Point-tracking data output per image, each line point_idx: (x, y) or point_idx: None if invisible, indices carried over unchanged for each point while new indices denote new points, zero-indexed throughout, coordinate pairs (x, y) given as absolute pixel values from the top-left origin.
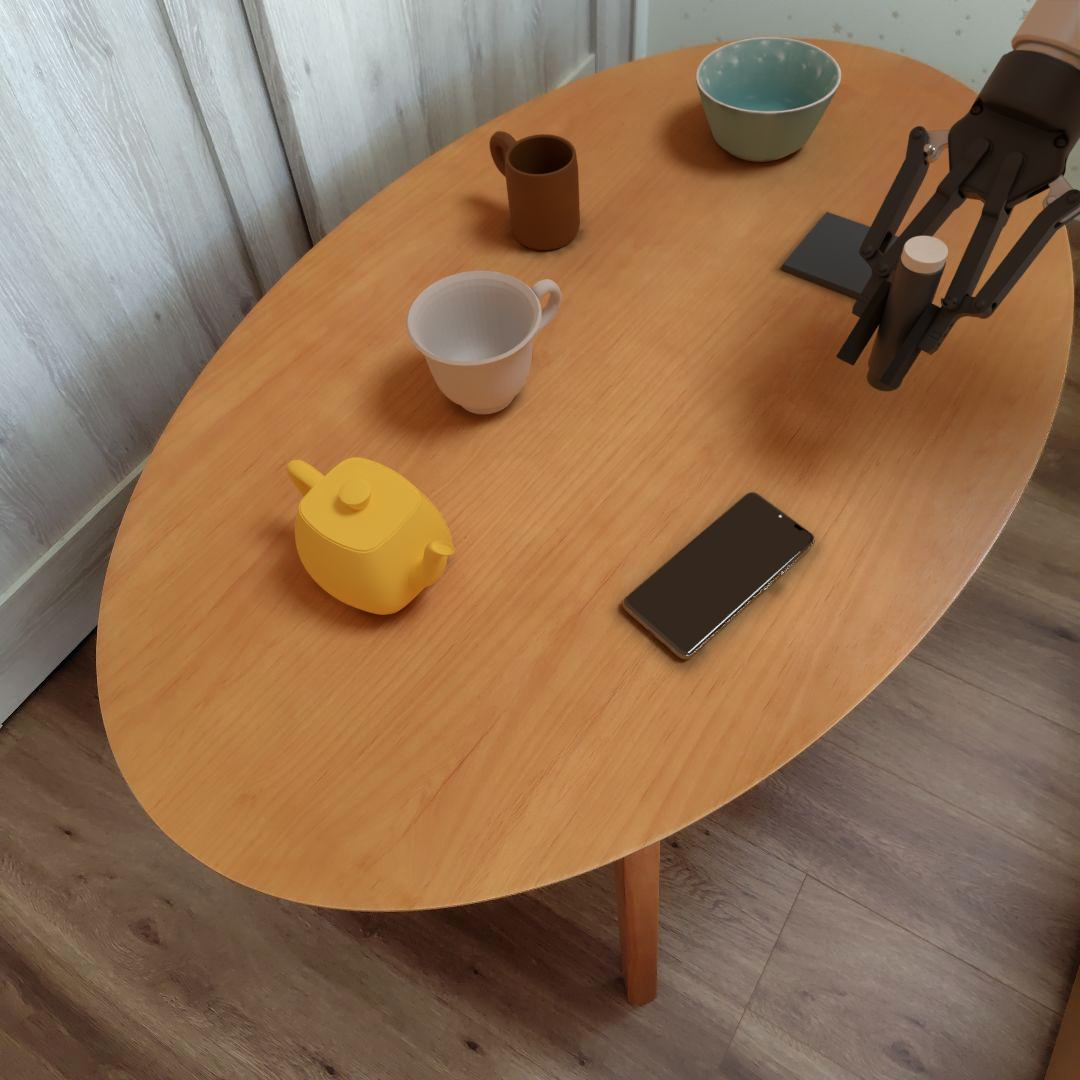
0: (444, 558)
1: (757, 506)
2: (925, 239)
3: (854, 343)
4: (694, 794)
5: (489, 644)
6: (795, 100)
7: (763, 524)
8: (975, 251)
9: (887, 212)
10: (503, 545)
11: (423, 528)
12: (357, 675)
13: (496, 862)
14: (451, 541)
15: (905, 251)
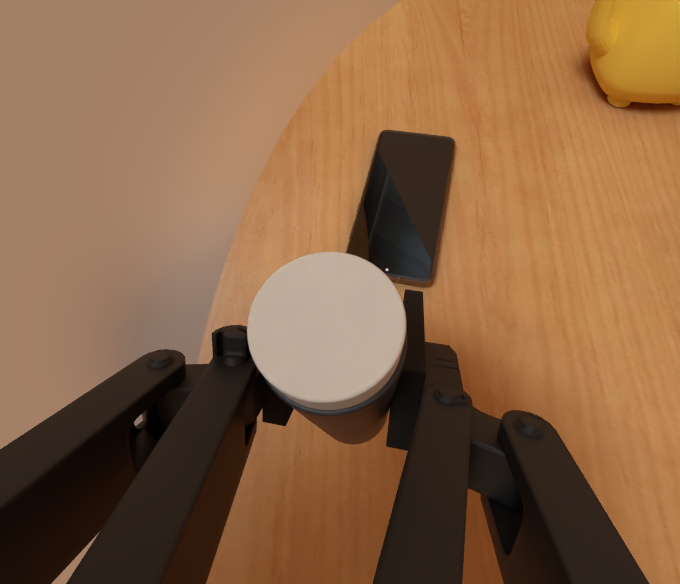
0: (597, 15)
1: (413, 268)
2: (348, 367)
3: (404, 301)
4: (325, 83)
5: (512, 81)
6: None
7: (396, 253)
8: (173, 467)
9: (591, 555)
10: (580, 138)
11: (640, 13)
12: (566, 29)
13: (402, 12)
14: (614, 78)
15: (384, 274)
